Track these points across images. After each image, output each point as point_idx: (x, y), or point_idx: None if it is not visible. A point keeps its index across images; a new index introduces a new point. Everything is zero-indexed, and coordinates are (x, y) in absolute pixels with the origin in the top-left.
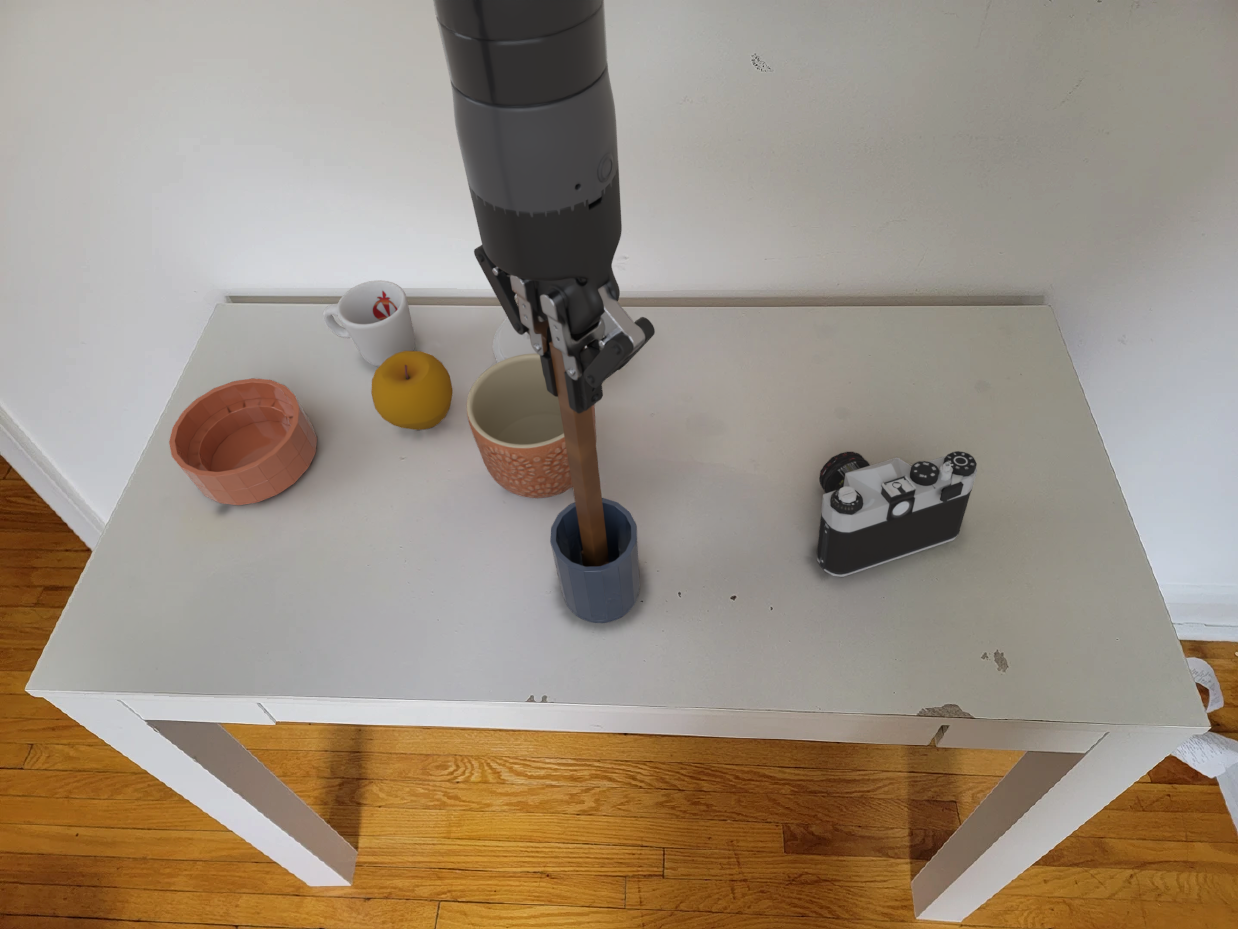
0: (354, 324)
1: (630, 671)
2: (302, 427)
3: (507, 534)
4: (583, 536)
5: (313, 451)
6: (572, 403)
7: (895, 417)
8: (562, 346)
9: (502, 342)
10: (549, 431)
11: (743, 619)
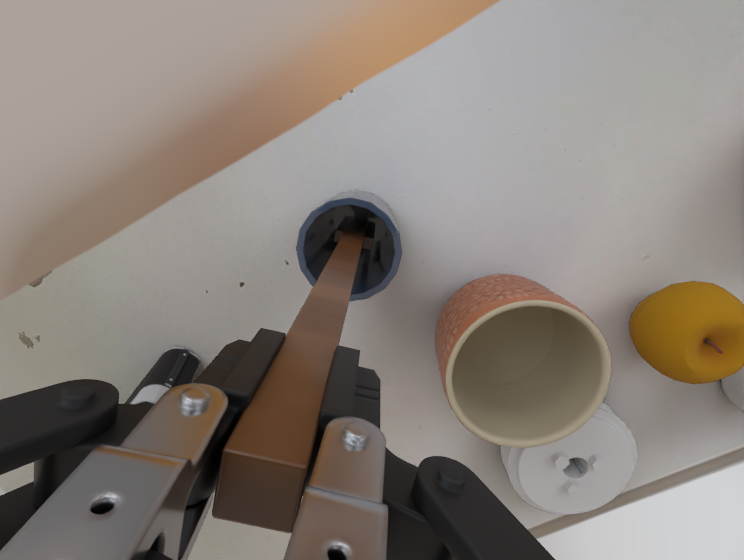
0: None
1: (282, 167)
2: None
3: (479, 234)
4: (356, 241)
5: None
6: (265, 339)
7: (214, 519)
8: (97, 478)
9: (620, 438)
10: (506, 362)
11: (222, 269)
